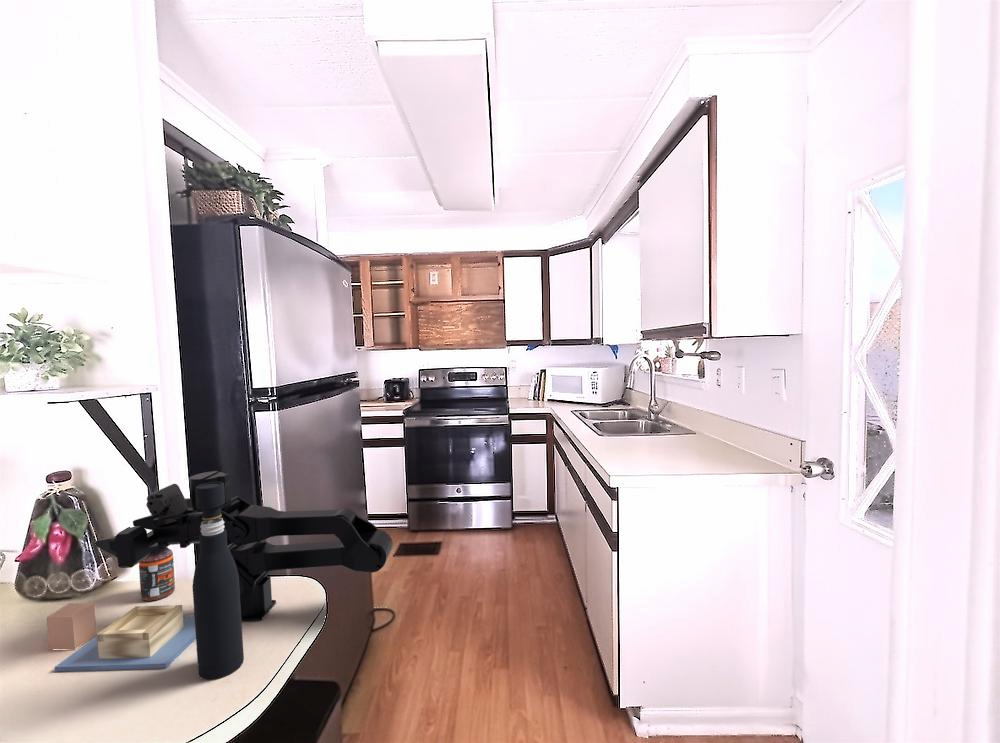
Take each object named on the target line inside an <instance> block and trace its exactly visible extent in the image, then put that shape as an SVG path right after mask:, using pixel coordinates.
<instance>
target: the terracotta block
mask: <svg viewBox="0 0 1000 743" xmlns="http://www.w3.org/2000/svg"><path fill="white" fill-rule="evenodd" d="M45 619H46V628H47V629H46V630H47V640H48V641H47V642H48V651H49V650H53V649H76V648H77V647H78V648H80V647H81V646H83V645H84V644H86V643H87V642H89V640H92V639H93V637H94V638H95V637H96V636H97V634H98V632H97V623H96V610H95V602H82V603H81V602H78V603H76V602H73V603H68V604H66V605H65V606H63V607H61V608H60V609H58V610H56V611H55V612H53V613H52V614H50V615H48V616H46V617H45ZM86 641H87V642H86ZM83 643H84V644H83ZM82 644H83V645H82ZM80 645H81V646H80ZM79 646H80V647H79ZM78 648H77V649H78ZM77 649H76V650H77Z"/></svg>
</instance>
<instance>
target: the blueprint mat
mask: <svg viewBox="0 0 1000 743" xmlns="http://www.w3.org/2000/svg"><path fill="white" fill-rule="evenodd" d="M183 625H184V627H183V628H182V629H181V630H180V631H179V632H178V633H177V634H175V635H174V636H173V637H172V638H171V639H170V640H169V641H168V642H167V643H166V644H164V645H163V646H162V647H161V648H160V649H159V650H158V651H157V652H156V653H154V654H153V655H152V656H151V657H142V658H110V659H99V652H98V640H97V635H95V636H94V638H91V639H90V641H89V640H88V641H87V642H86V643H84V644H83V645H82V646H80V647H79V648H78V649H76V650H75V651H74V652H73V653H72V654H70V655H69V656H68V657H66V658H64V659H63V660H62V661H61V662H59V663H58V664H57V665H55V666H54V672H55V673H59V672H61V673H63V672H87V671H88V672H89V671H90V672H91V671H94V672H95V671H119V670H121V671H122V670H123V671H124V670H149V669H153V670H154V669H167V668H168V667H169V666H170V665H171V664H172V663H173V662H175V660H177V658H178V657H179V656H180V655H182V653H184V651H186V649H187V648H188V647H189V646H190V645H191V644H192V643H193V642H195V641H196V632H195V617H194V615H183ZM174 659H175V660H174Z"/></svg>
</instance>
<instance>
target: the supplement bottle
mask: <svg viewBox="0 0 1000 743" xmlns="http://www.w3.org/2000/svg"><path fill="white" fill-rule="evenodd" d="M149 552H150V554H149V555H148V556H147V557H146V558H145V559H144V560H142V561H141V562H139V563H138V569H139V570H138V571H139V572H138V573H139V587H140V588H139V589H140V598H141V600H143V601H148V602H150V601H157V600H162V599H164V598H167V597H169V596H170V595H171V594H172V593H174V592H175V589H176V581H175V579H176V577H175V565H174V563H175V561H174V553H173V552H174V551H173V550H172V549H171V548H169V546H168V547H166V548H165V549H158V543H155V544H154V545H152V546H150V547H149Z"/></svg>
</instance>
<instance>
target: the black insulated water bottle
mask: <svg viewBox="0 0 1000 743" xmlns="http://www.w3.org/2000/svg"><path fill="white" fill-rule="evenodd" d="M196 502H197V508H198V509H202V515H203V517H202V519H203V520H205V521H203V522H202V523H201V526H200V528H201V534H200V536H199V541H200V543H199V555H198V558H197V561H196V565H195V568H194V573H193V577H192V578H193V579H192V587H191V588H192V599H193V614H194V615H193V616H194V617H195V632H196V639H195V643H196V655H197V656H196V657H197V658H196V660H197V671H198V677H199V678H201V679H202V680H206V681H212V680H213V681H214V680H218V679H221V678H224V677H226V676H229V675H231V674H233V673H234V672H236V671H237V670H238V669H239V668H240V667H241V666H242V665H243V663H244V661H245V660H244V659H245V657H244V656H245V655H244V640H243V623H242V622H243V621H241V605H240V589H239V575H238V571H237V567H236V564H235V561H234V559H233V557H232V554H231V552H230V550H229V549H230V548H229V547H228V546H227V531H226V530H225V529H224V527H225V526H224V525H223V524H224V521H223V518H220V517H221V508H220V506H221V505H223V504H225V494H224V483H223V482H210V483H205V484H201V485H198V486H197V487H196Z"/></svg>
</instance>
